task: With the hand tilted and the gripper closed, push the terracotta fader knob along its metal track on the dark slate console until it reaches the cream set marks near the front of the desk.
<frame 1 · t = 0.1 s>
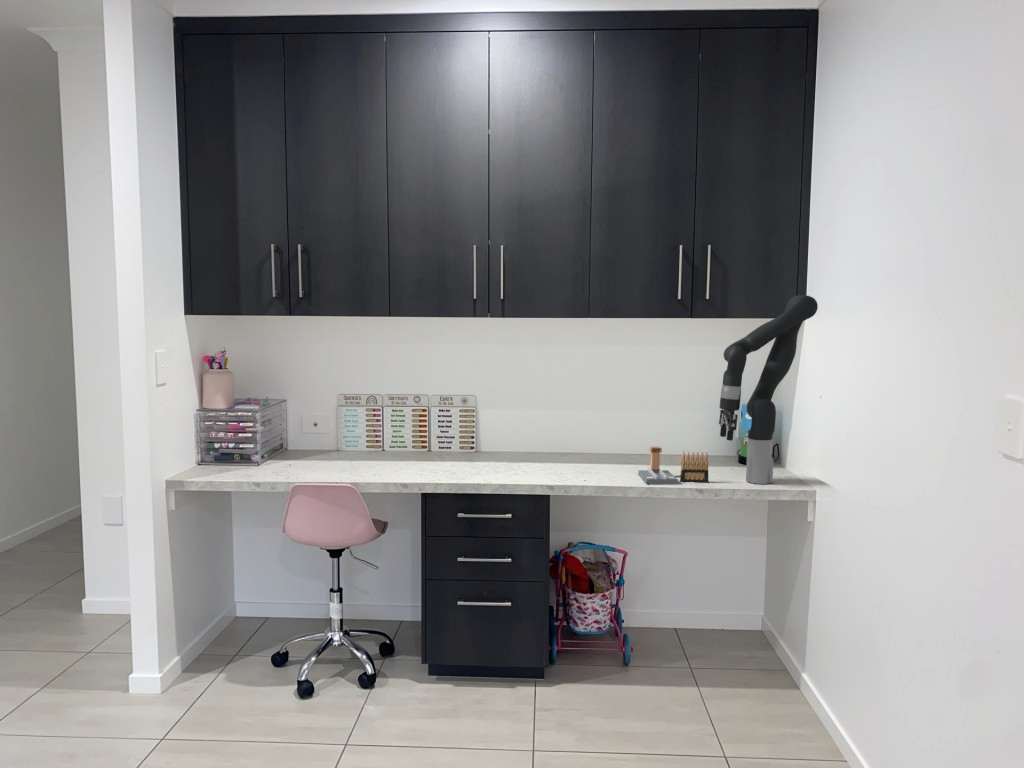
hand: (726, 438, 310), 17 cm above the table, tool pointing down, fingers open, 8 cm apart
ammunition clip: (694, 482, 311), on the table
fader: (655, 459, 319), point 7 cm above the table, slide at -5.0 cm
fader console: (657, 479, 315), on the table
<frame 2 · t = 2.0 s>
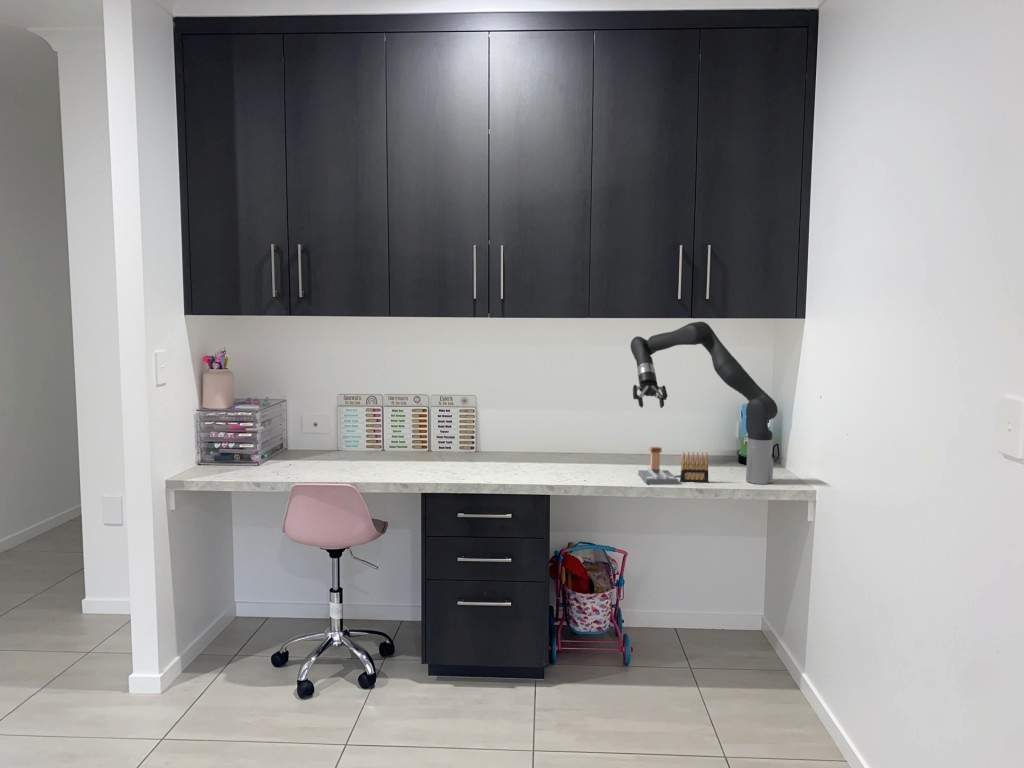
hand: (652, 406, 335), 26 cm above the table, tool tilted 45°, fingers open, 8 cm apart
nothing on the table moved.
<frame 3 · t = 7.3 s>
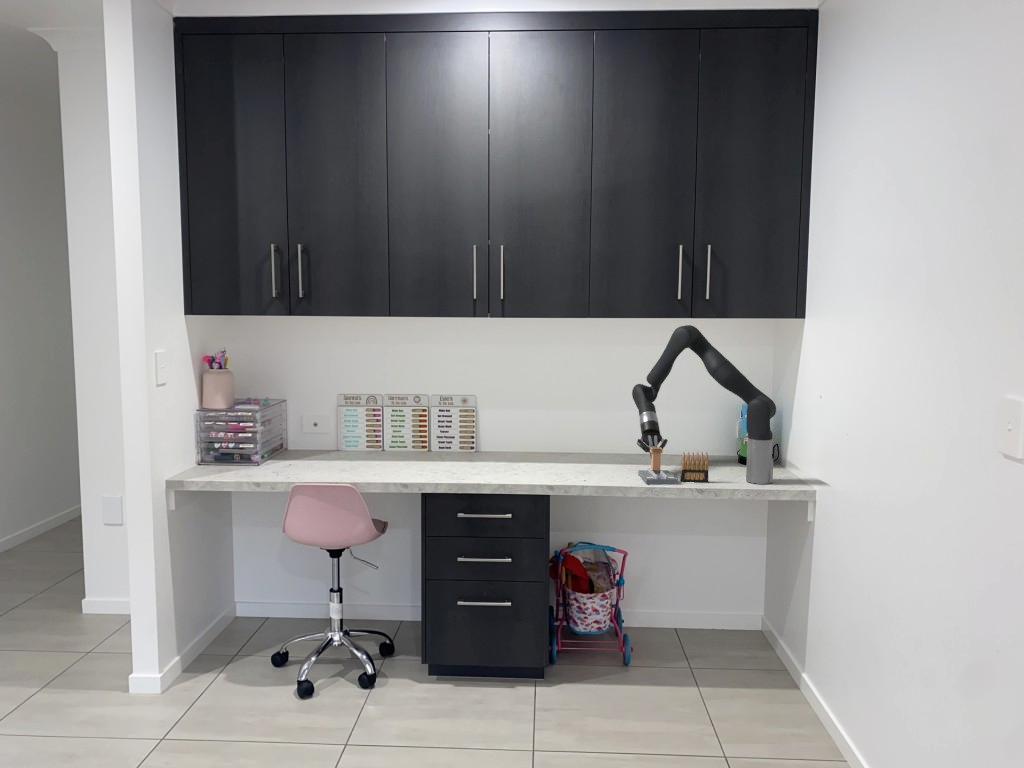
hand: (655, 459, 319), 7 cm above the table, tool tilted 45°, fingers closed
fader: (655, 460, 317), point 7 cm above the table, slide at -3.4 cm, touching gripper
everything else where it was.
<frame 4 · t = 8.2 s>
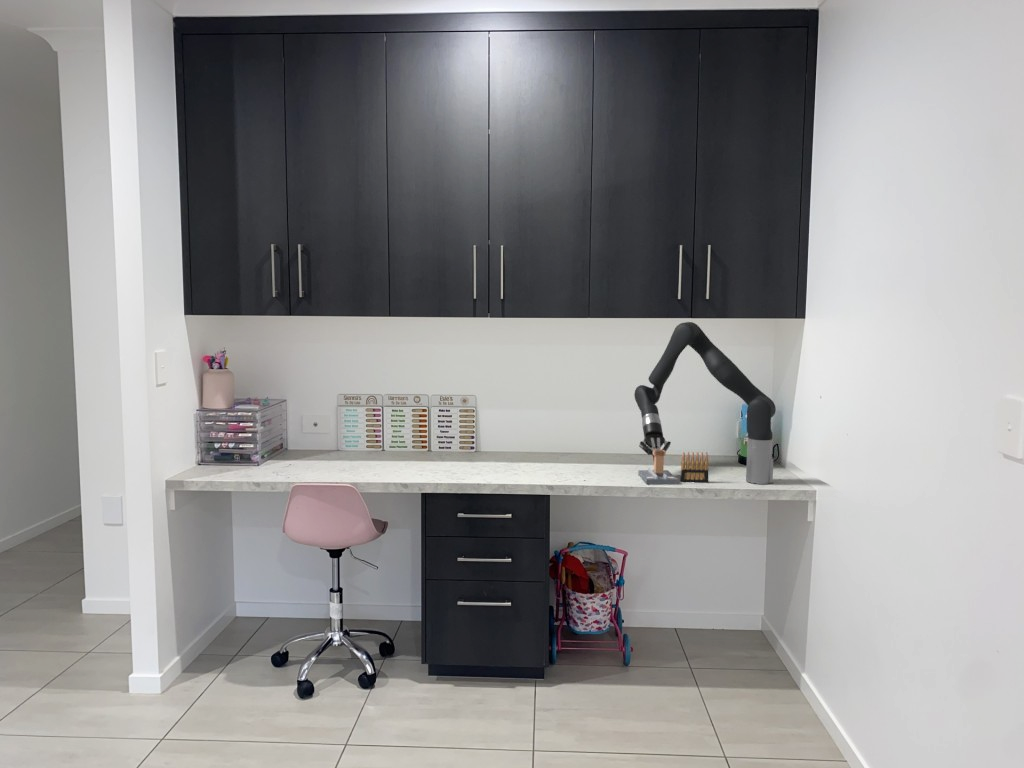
hand: (657, 462, 314), 7 cm above the table, tool tilted 45°, fingers closed
fader: (658, 462, 312), point 7 cm above the table, slide at 1.8 cm, touching gripper
everything else where it was.
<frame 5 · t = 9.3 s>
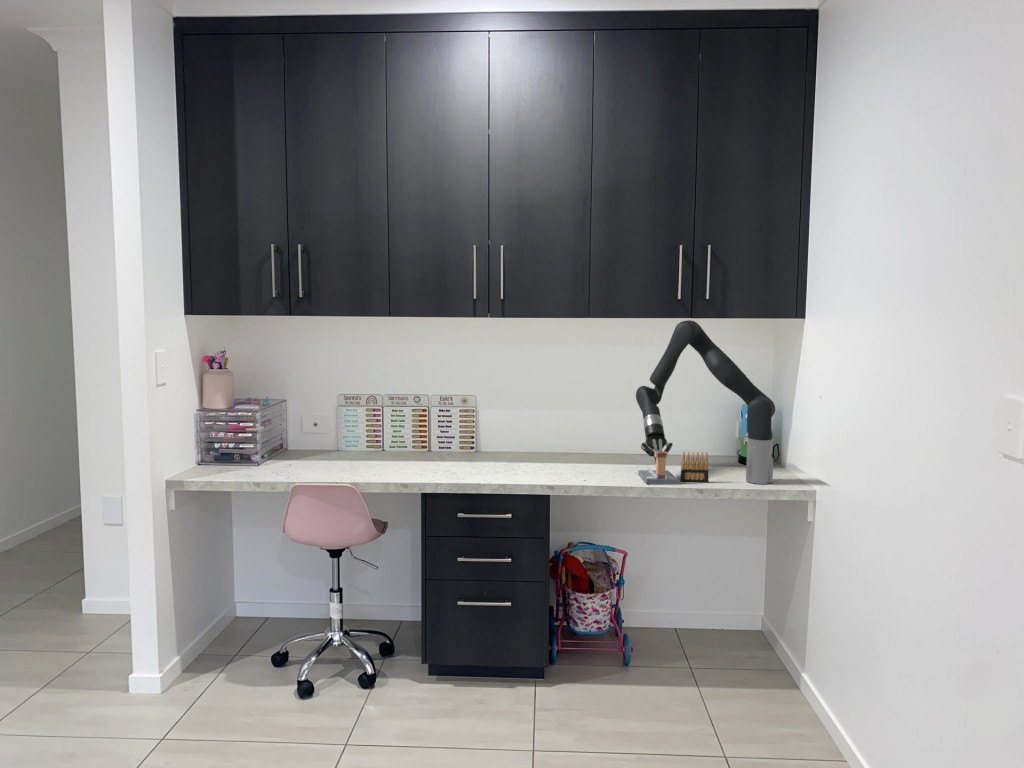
hand: (659, 464, 311), 7 cm above the table, tool tilted 45°, fingers closed
fader: (660, 464, 309), point 7 cm above the table, slide at 5.0 cm, touching gripper
everything else where it was.
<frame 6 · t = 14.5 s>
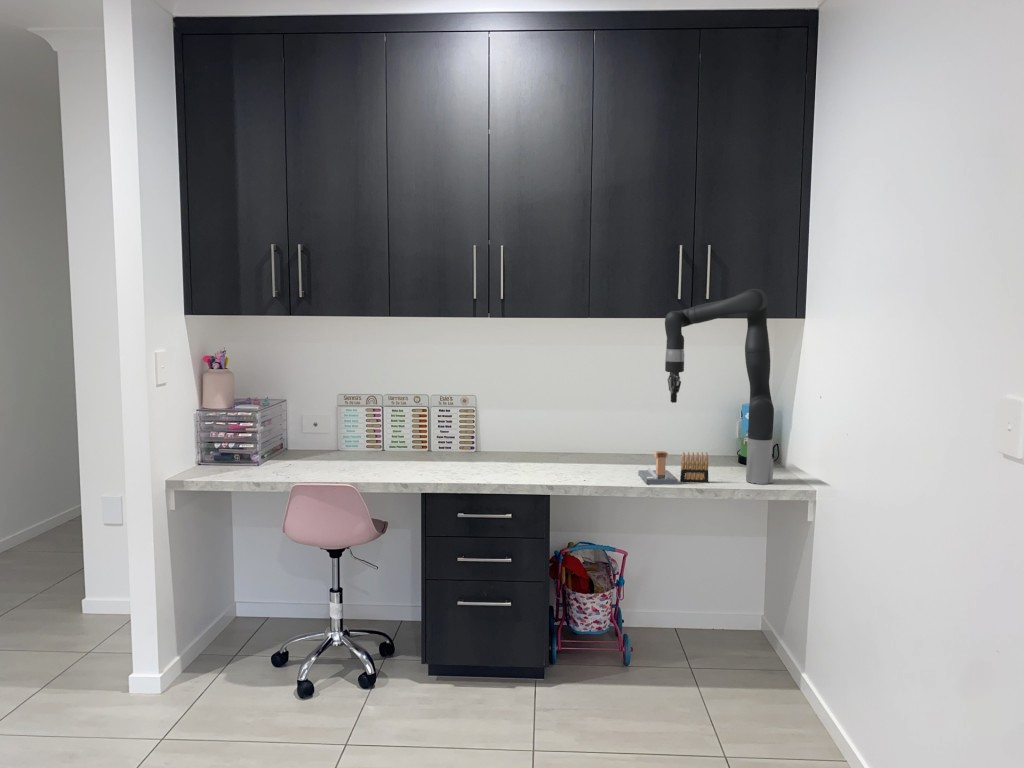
hand: (673, 402, 326), 29 cm above the table, tool pointing down, fingers closed
fader: (660, 464, 309), point 7 cm above the table, slide at 5.0 cm
everything else where it was.
at the end: fader slide at 5.0 cm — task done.
